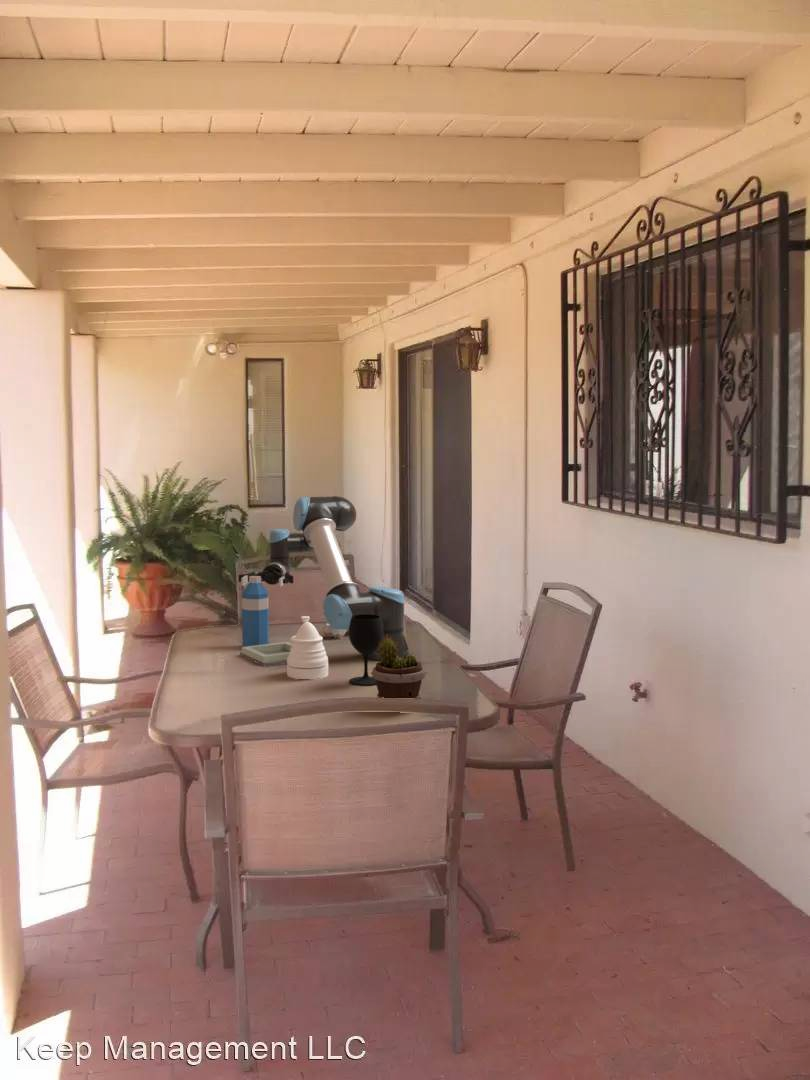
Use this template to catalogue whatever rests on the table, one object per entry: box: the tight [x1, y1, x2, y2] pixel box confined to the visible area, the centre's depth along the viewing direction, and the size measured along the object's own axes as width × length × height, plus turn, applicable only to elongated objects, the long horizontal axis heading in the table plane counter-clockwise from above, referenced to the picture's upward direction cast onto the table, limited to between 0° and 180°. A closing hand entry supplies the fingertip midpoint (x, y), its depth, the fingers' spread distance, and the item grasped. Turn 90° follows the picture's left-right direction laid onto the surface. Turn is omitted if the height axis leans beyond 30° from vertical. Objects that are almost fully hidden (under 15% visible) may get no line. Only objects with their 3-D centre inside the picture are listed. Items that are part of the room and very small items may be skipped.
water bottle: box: [241, 576, 270, 647], centre depth 361 cm, size 9×9×25 cm
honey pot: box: [286, 615, 329, 680], centre depth 323 cm, size 13×13×18 cm
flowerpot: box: [370, 634, 428, 700], centre depth 288 cm, size 14×15×20 cm
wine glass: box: [348, 614, 383, 687], centre depth 314 cm, size 10×10×20 cm
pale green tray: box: [239, 641, 293, 667], centre depth 347 cm, size 20×17×3 cm
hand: (261, 582), depth 371 cm, fingers open, 13 cm apart
